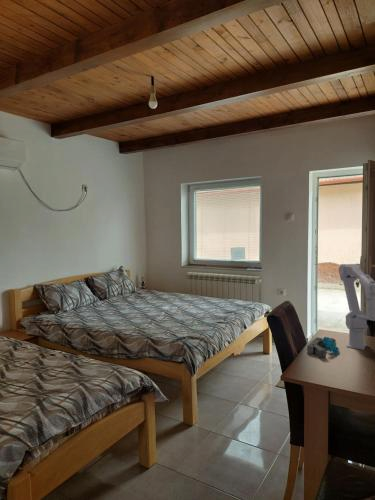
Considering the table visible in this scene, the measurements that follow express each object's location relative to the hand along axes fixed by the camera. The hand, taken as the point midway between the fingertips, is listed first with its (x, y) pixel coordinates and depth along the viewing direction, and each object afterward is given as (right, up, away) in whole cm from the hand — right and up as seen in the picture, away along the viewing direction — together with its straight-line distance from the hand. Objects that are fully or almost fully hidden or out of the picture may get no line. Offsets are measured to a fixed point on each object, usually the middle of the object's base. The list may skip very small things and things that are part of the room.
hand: (372, 336), depth 169 cm
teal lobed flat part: (-17, -10, +7) cm, 21 cm away
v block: (-21, -10, +10) cm, 25 cm away
